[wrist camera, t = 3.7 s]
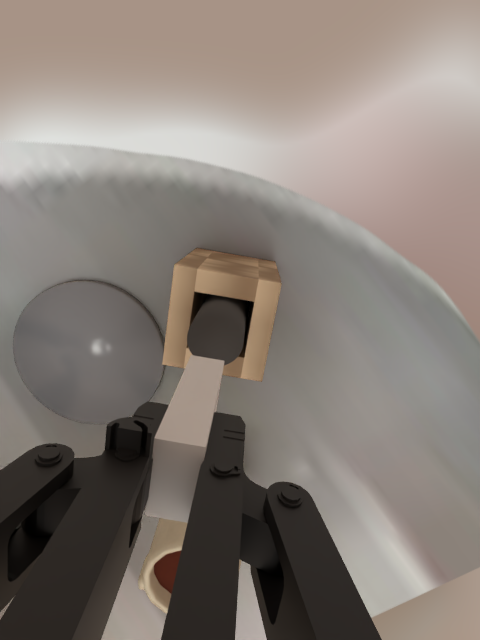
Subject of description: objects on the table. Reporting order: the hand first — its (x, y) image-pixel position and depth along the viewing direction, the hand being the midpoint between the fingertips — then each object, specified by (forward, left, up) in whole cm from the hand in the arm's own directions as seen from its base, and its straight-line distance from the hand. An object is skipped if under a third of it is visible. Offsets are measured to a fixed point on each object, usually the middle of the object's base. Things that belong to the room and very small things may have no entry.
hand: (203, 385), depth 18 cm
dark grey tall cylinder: (0, 0, -16) cm, 16 cm away
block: (0, 0, -19) cm, 19 cm away
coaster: (-12, -8, -19) cm, 24 cm away
